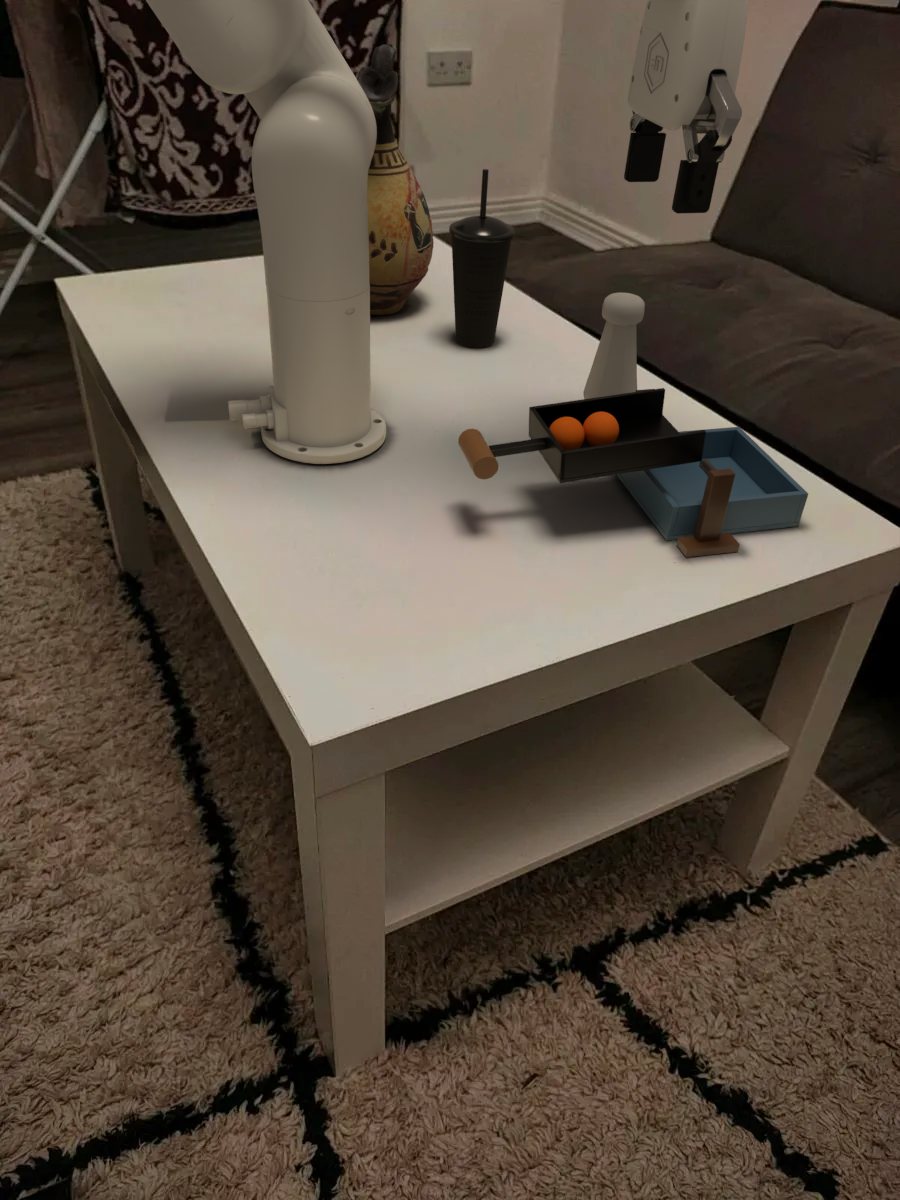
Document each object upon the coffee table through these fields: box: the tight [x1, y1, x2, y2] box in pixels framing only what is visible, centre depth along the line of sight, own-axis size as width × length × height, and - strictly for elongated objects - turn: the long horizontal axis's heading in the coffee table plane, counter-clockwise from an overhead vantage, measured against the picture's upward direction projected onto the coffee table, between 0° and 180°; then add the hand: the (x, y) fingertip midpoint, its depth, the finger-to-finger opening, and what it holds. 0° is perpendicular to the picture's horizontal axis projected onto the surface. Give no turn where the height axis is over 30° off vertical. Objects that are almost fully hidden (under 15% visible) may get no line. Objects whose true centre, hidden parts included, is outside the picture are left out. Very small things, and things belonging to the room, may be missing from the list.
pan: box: [457, 387, 706, 484], centre depth 84 cm, size 20×9×3 cm, turn 104°
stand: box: [635, 388, 740, 558], centre depth 89 cm, size 5×19×7 cm, turn 14°
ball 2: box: [583, 412, 619, 447], centre depth 84 cm, size 3×3×3 cm
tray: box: [616, 426, 809, 541], centre depth 91 cm, size 13×13×4 cm
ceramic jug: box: [356, 44, 435, 317], centre depth 120 cm, size 17×15×30 cm
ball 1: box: [549, 417, 585, 451], centre depth 84 cm, size 3×3×3 cm
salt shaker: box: [583, 292, 646, 399], centre depth 101 cm, size 6×6×13 cm
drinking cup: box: [448, 168, 516, 349], centre depth 114 cm, size 8×8×20 cm
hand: (664, 195), depth 83 cm, fingers open, 9 cm apart
